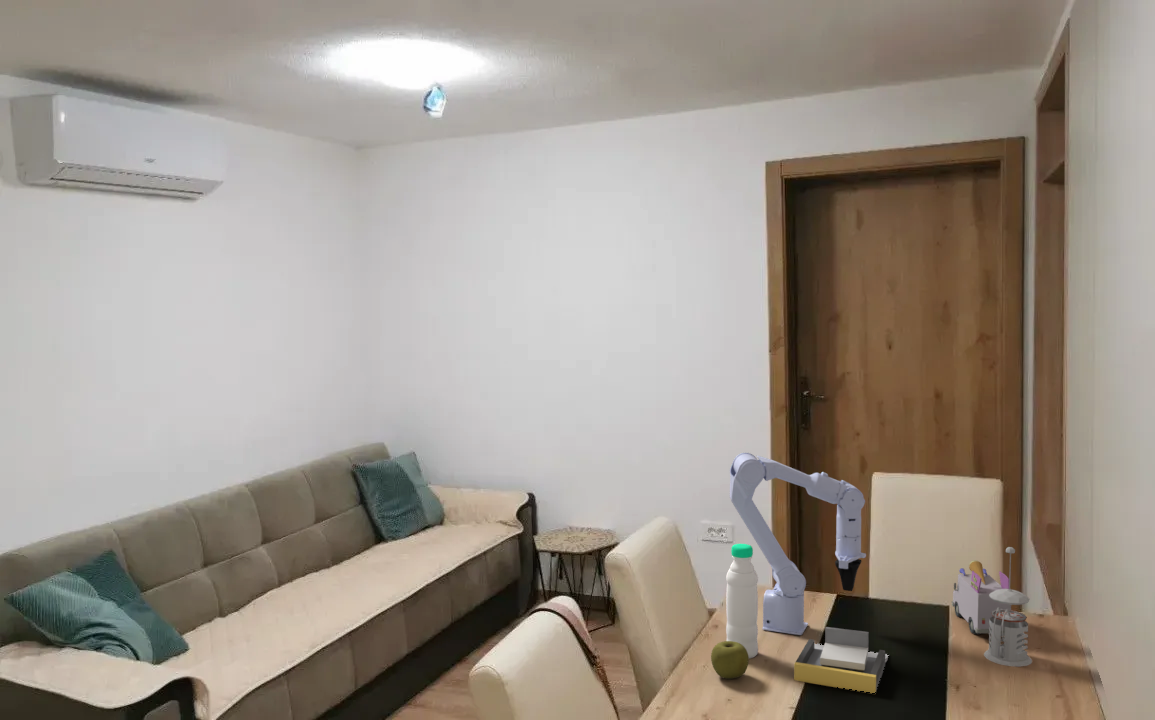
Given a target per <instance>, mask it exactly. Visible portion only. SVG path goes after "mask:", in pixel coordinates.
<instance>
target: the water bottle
mask: <svg viewBox="0 0 1155 720" xmlns="http://www.w3.org/2000/svg"><path fill="white" fill-rule="evenodd" d="M730 549H731V552H730V553H731V558H732V559H733V561H732V563H731V564H730V567H729V569H728V571H727V572H726V576H725V580H726V583H727V584H726V590H725V592H726V596H725V598H726V599H725V602H726V604H725V606H726V607H725V609H726V624H725V625H726V626H725V633H726V640H725V641H734V642H738V643H740V644H742V645H743V646H744V647H745V648H746V650H747V653H748V656H749V659H753V658H755V657H756V656H757V655H758V653H759V652H758V651H759V648H758V646H759V645H758V635H759V632H758V631H759V629H758V615H759V614H758V611H759V609H758V608H759V603H758V601H759V595H758V583H759V577H758V574H757V572H756V570H755V567H754V565H753V563H752V559H753V555H754V554H753V553H754V552H753V551H754V549H753V546H752V545H750V544H748V543H735V544H733V545H732V546H731V548H730Z"/></svg>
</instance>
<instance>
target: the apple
mask: <svg viewBox="0 0 1155 720" xmlns="http://www.w3.org/2000/svg"><path fill="white" fill-rule="evenodd" d="M710 654H711V655H710V659H711V664H712V668H713V669H714V671H715V673H716V675H718V676H719V677H720V678H722V679H727V680H728V679H729V680H730V679H737V678H740V677H742V676H744V675H745V673H746V671H747V669H748V667H749V656H748V653H747V650H746V648H745V647H744V646H743V645H742V644H740V643H738V642H734V641H726V640H725V641H720V642H718V643H716V645H714V646H713V648H712V650H711V653H710Z"/></svg>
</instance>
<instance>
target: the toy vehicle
mask: <svg viewBox="0 0 1155 720" xmlns="http://www.w3.org/2000/svg"><path fill="white" fill-rule="evenodd" d="M983 567H984V566H983V563H982V561H981V562H980V561H979V560H972V561H970V562H969V565H968V568H969V570H970V572H971V574H966V571H965V568H959V570H958V571H959V574H957V583H956V582H954V583H953V592H952V601H951V606H952V607H953V608H954V613H955V616H956V617H958V618H963V619H964V620H965V621H966V622H967V623H968V628H969V629H968V630H969V631H970V633H971V634H973V635H981V634H989V632H990V630H991V632H992V629H990V630H989V626H990V624H989V620H990V617H993V616H992V614H991V613H992V611H994V610H997V608H998V607H999V608H1000V609H1002V610H1003V609H1005V610H1006V609H1007V610H1009V605H1008V604H1002V603H999V602H996V601H994V600H992V599H991V598H990V596H989V594H990V593H992V592H994V591H996V590H1000V589H1009V577H1008V576H1007V575H1006V574H1005V573H1003V572H1002V571H998V573H999V574H998V575H999V581H1000V583H999V582H997V581H996V579H994V577H992V576H991V575H990V574H988V573H987V572H988V571H987V569H985V568H983ZM1010 610H1011V611H1012V605H1010ZM999 626H1001V628H1002V625H999ZM1004 627H1005V625H1003V628H1004ZM1001 633H1002V631H1001ZM1003 633H1004V631H1003Z"/></svg>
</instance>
